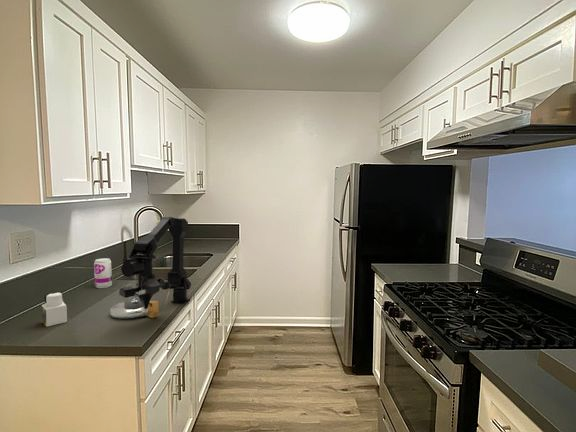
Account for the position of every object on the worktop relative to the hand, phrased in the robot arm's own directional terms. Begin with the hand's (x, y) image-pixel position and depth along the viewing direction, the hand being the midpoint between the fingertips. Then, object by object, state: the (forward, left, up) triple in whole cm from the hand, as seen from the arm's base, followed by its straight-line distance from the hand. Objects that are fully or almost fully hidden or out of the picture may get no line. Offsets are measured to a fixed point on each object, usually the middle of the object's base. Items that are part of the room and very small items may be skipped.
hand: (145, 308), depth 142 cm
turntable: (-4, -9, -4) cm, 11 cm away
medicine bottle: (+15, -32, -5) cm, 36 cm away
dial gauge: (-15, -21, -5) cm, 26 cm away
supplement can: (-30, -57, -5) cm, 65 cm away
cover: (-5, -11, -2) cm, 12 cm away
